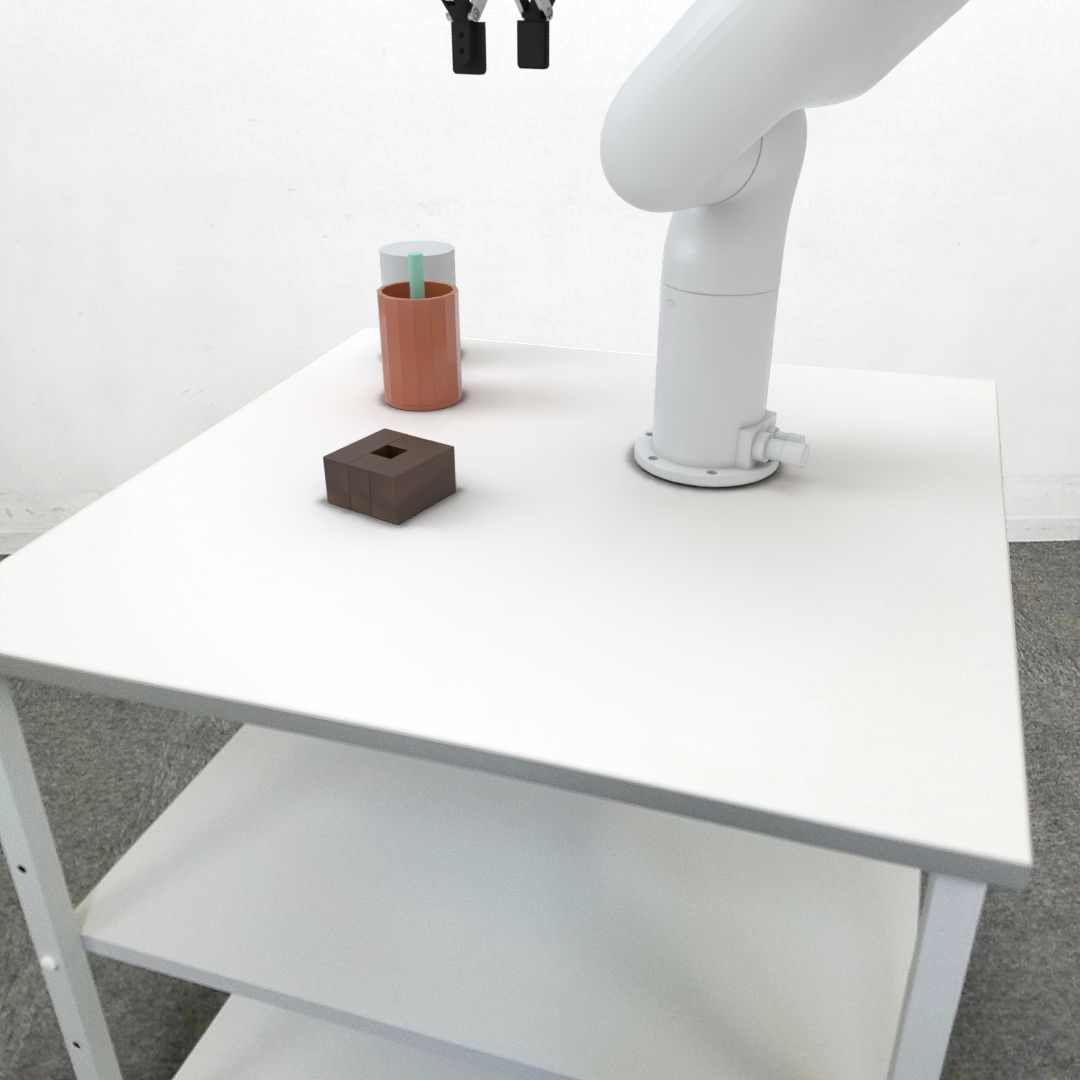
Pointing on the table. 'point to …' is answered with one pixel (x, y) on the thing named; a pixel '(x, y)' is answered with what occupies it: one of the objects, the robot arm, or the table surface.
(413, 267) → the straw
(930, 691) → the table surface
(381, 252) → the light grey cylinder
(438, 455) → the holder
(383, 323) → the tumbler
